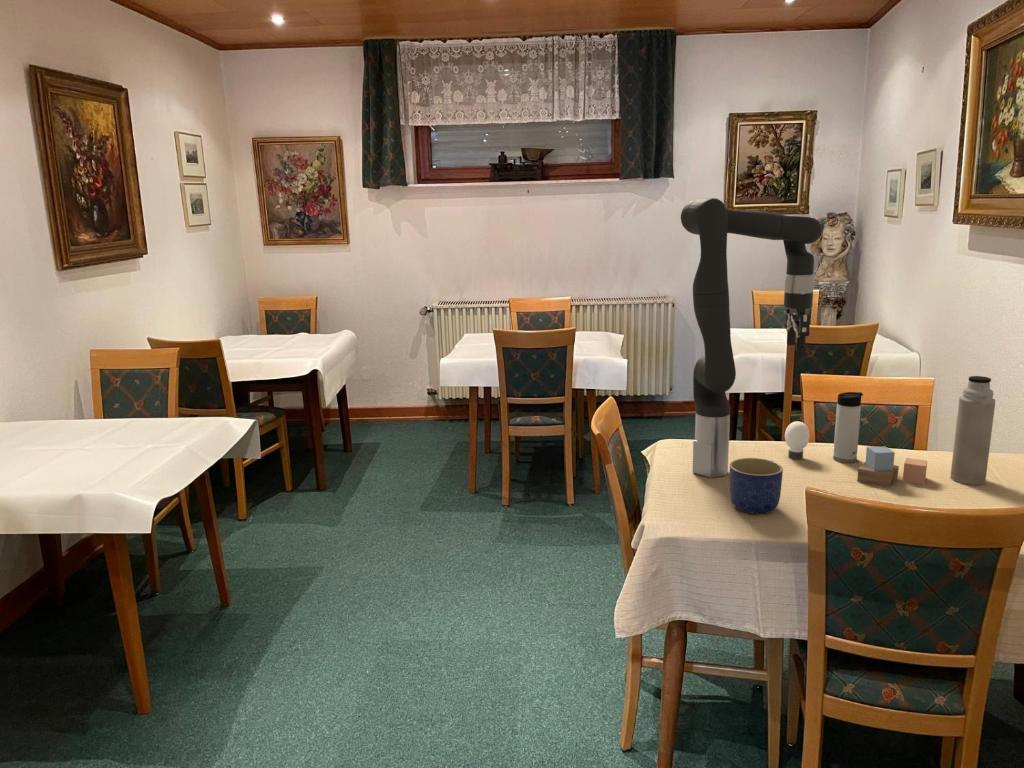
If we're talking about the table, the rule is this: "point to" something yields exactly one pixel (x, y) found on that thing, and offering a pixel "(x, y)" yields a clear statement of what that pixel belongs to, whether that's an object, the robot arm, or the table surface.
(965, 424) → the thermos bottle
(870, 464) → the blue cube
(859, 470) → the walnut block
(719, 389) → the robot arm
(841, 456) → the travel mug
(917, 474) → the terracotta cube
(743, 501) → the planter
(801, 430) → the light bulb
